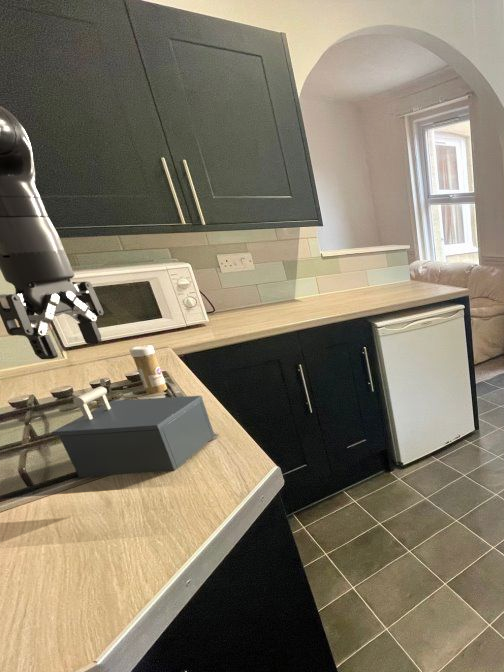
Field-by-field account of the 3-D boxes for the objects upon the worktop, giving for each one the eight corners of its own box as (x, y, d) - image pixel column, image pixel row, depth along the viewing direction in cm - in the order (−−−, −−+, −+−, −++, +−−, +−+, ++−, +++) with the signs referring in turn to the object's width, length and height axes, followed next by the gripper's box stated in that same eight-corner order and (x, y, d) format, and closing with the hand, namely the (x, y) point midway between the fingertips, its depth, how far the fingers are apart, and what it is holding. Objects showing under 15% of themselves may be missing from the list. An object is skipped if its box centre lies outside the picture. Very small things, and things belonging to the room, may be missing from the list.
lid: (53, 436, 69) (39, 407, 67) (113, 404, 81) (102, 379, 79) (158, 429, 70) (147, 401, 68) (202, 399, 82) (194, 374, 80)
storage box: (83, 485, 73) (58, 436, 69) (136, 448, 84) (117, 404, 81) (177, 478, 74) (158, 429, 70) (217, 443, 86) (202, 399, 82)
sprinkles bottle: (167, 397, 109) (149, 348, 104) (145, 401, 107) (126, 351, 102) (172, 391, 113) (154, 343, 108) (151, 394, 111) (132, 346, 106)
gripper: (46, 246, 70) (85, 340, 76) (-52, 253, 57) (4, 365, 63) (94, 245, 71) (129, 338, 77) (7, 252, 58) (58, 363, 64)
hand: (73, 350), depth 70 cm, fingers open, 8 cm apart
